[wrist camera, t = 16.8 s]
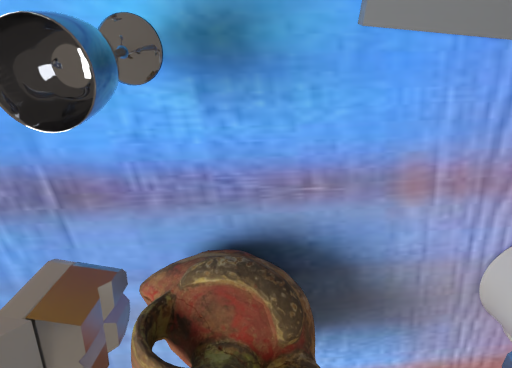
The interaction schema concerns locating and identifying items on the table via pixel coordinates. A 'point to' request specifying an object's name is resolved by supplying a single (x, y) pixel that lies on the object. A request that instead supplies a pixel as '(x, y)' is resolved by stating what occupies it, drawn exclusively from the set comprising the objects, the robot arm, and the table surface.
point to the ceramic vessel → (225, 315)
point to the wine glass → (70, 65)
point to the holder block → (441, 16)
